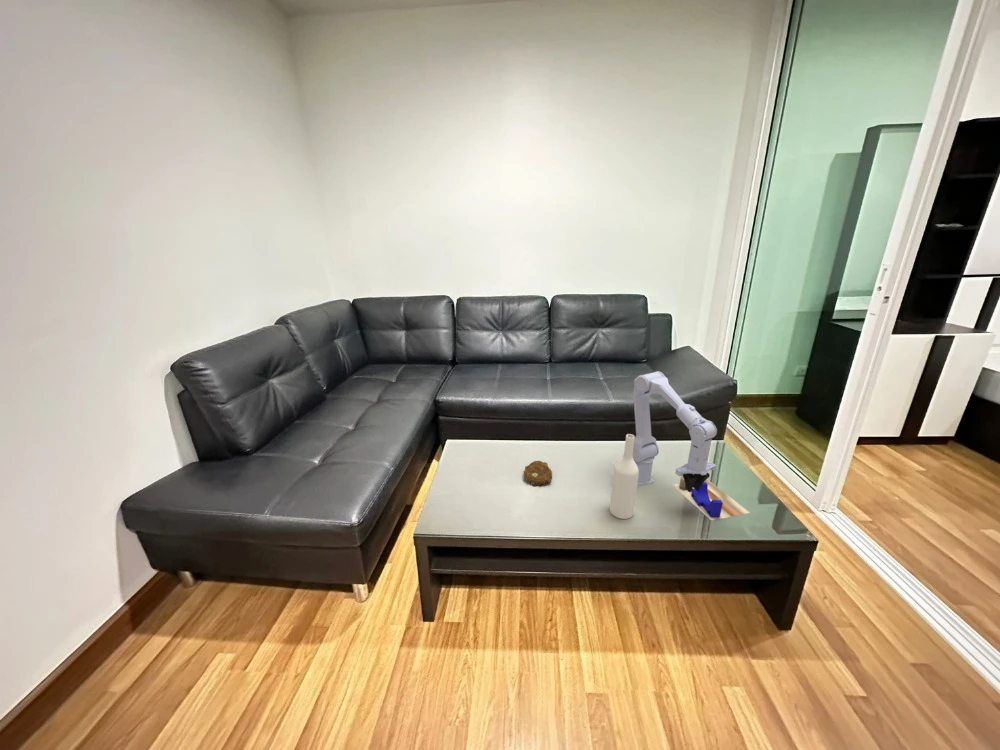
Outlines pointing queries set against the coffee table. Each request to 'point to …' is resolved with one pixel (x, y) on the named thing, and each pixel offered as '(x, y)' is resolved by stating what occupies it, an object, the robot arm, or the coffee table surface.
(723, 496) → the plywood sheet
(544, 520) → the coffee table surface
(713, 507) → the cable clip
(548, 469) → the decorative rock
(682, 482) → the cylindrical peg
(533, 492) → the coffee table surface
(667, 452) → the coffee table surface
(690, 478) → the robot arm
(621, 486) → the bottle
